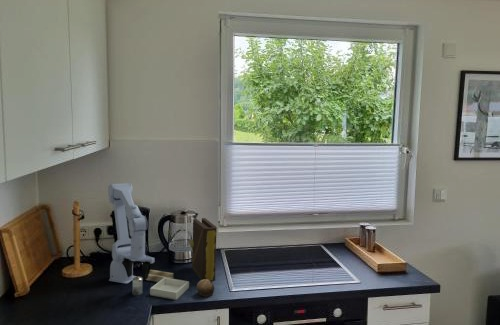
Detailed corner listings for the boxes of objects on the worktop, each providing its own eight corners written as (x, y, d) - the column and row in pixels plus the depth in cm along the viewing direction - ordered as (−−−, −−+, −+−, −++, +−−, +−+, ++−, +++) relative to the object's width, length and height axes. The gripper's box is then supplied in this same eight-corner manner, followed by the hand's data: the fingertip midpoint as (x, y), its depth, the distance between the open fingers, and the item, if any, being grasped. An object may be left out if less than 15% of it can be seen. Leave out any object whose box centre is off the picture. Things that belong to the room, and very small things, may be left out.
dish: (150, 295, 157) (150, 288, 156) (164, 284, 168) (164, 277, 168) (176, 299, 154) (176, 292, 153) (188, 288, 165) (188, 281, 165)
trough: (143, 279, 172) (143, 274, 172) (150, 274, 178) (150, 269, 178) (167, 283, 169) (167, 278, 169) (173, 278, 175) (173, 273, 174)
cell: (130, 294, 157) (130, 278, 156) (135, 290, 161) (136, 274, 160) (139, 295, 156) (139, 279, 155) (144, 291, 160) (144, 275, 159)
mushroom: (193, 282, 163) (199, 274, 160) (209, 287, 166) (216, 279, 163) (192, 298, 156) (199, 289, 154) (209, 303, 159) (216, 294, 157)
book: (218, 280, 174) (220, 227, 172) (201, 283, 171) (202, 229, 169) (204, 264, 194) (205, 216, 192) (188, 266, 191) (189, 217, 188)
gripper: (117, 246, 154) (116, 278, 156) (148, 251, 151) (148, 283, 152) (126, 241, 161) (126, 272, 162) (157, 245, 157) (156, 277, 159)
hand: (137, 277), depth 158 cm, fingers open, 7 cm apart
